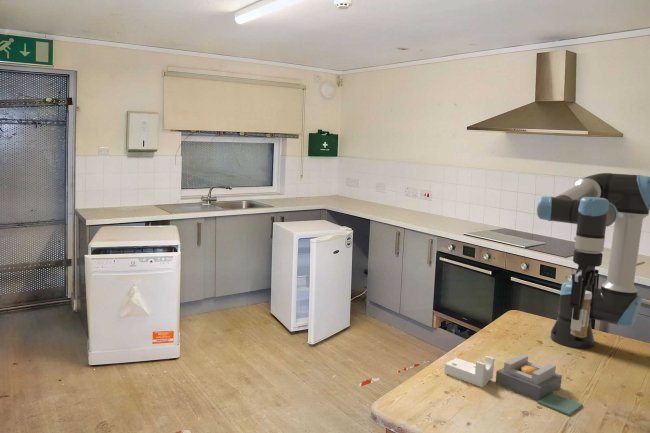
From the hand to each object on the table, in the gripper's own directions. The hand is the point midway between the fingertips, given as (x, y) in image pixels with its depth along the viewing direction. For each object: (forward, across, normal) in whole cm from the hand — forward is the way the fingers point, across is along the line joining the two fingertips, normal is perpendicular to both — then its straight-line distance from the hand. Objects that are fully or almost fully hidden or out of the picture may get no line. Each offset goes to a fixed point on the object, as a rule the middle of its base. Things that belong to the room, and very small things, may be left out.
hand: (579, 327), depth 160 cm
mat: (+21, +10, +1) cm, 23 cm away
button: (+18, +6, -11) cm, 22 cm away
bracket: (+21, +15, -26) cm, 37 cm away
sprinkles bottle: (+2, 0, 0) cm, 2 cm away
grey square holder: (+21, +6, -11) cm, 24 cm away
